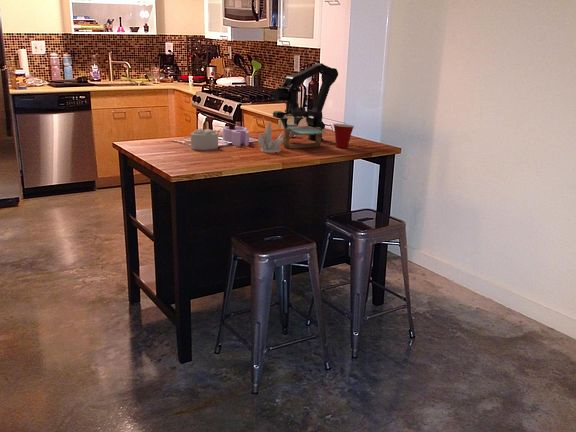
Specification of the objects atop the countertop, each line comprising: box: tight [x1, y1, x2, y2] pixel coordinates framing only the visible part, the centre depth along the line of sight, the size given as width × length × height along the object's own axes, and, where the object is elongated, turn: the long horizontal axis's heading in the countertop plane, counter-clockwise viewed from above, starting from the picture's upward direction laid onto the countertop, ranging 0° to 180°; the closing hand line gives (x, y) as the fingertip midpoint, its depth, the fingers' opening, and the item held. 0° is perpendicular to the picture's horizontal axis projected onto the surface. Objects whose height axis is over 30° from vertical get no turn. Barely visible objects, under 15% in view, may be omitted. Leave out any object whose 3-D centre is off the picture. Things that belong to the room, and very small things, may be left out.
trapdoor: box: [287, 125, 327, 137], centre depth 278 cm, size 16×14×4 cm
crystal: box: [257, 120, 284, 154], centre depth 269 cm, size 10×13×15 cm
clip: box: [222, 125, 250, 147], centre depth 286 cm, size 20×12×7 cm, turn 24°
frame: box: [283, 127, 323, 149], centre depth 281 cm, size 2×20×10 cm, turn 116°
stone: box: [283, 122, 298, 131], centre depth 292 cm, size 5×5×5 cm
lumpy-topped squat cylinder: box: [190, 128, 219, 151], centre depth 270 cm, size 10×13×9 cm
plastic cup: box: [333, 123, 355, 149], centre depth 284 cm, size 11×11×12 cm
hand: (290, 130), depth 293 cm, fingers closed on stone, 5 cm apart
